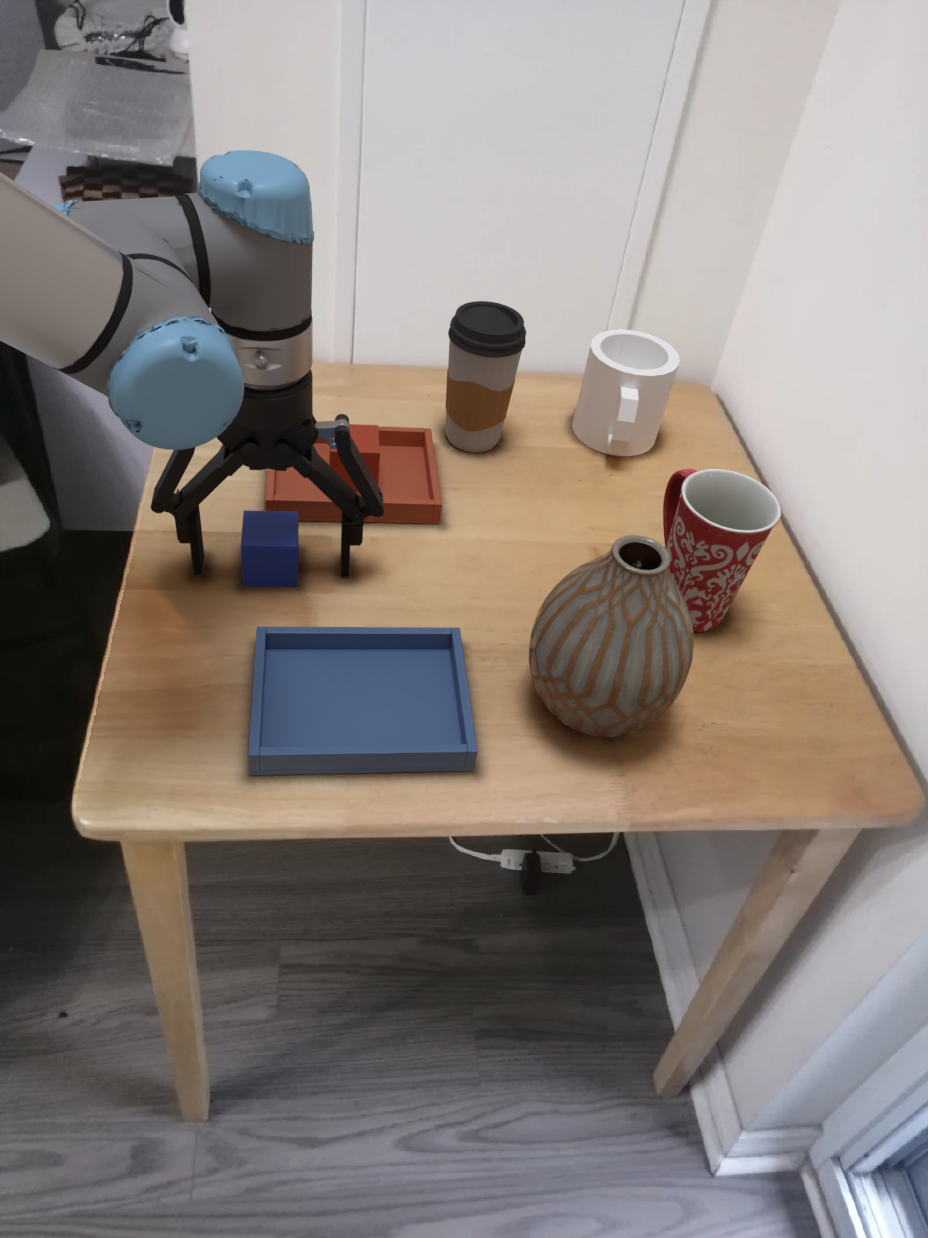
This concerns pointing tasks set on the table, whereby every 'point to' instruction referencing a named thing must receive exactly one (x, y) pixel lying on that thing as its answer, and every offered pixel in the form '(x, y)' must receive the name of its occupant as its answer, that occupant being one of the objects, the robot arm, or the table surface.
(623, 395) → the mug
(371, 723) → the blue tray
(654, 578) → the vase
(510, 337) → the coffee cup
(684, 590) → the mug
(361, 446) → the rust block
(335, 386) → the table surface
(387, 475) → the terracotta tray
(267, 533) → the blue block
